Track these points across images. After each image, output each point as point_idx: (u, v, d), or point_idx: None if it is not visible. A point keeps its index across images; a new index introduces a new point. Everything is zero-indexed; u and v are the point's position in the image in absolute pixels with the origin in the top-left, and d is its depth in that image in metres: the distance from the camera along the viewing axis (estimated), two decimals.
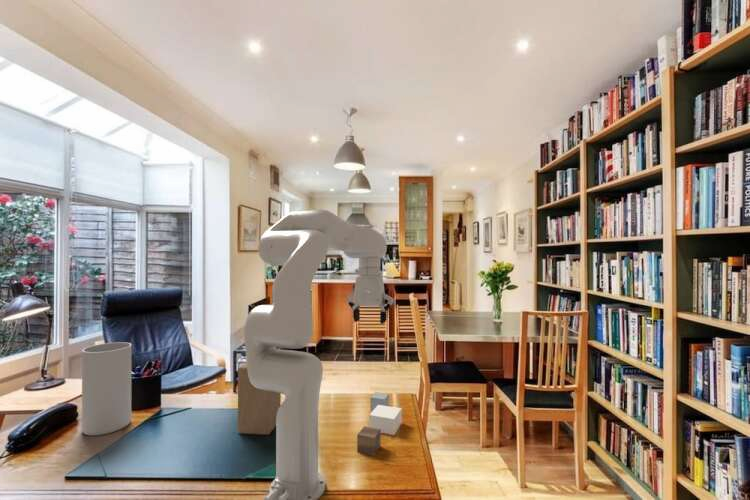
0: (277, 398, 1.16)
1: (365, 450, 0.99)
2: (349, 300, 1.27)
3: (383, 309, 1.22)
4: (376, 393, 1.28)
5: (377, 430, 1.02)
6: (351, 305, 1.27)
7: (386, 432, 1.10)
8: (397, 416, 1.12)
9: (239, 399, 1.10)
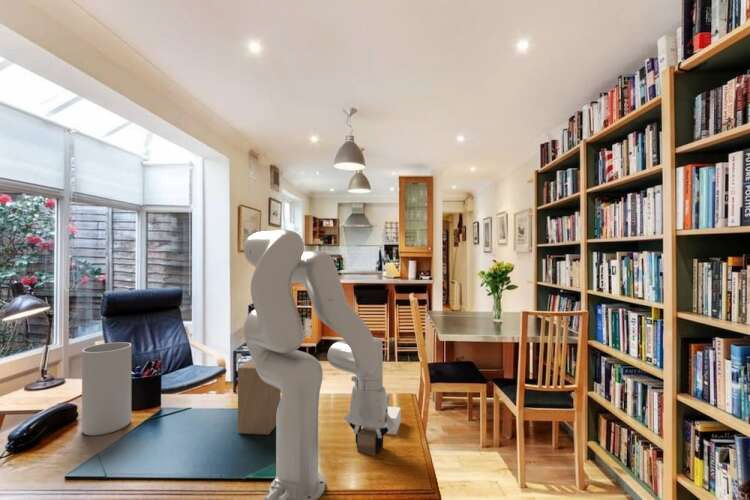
0: (277, 398, 1.16)
1: (365, 450, 0.99)
2: (349, 420, 1.03)
3: (379, 435, 0.99)
4: None
5: None
6: (353, 426, 1.02)
7: (388, 432, 1.10)
8: (397, 415, 1.12)
9: (239, 399, 1.10)
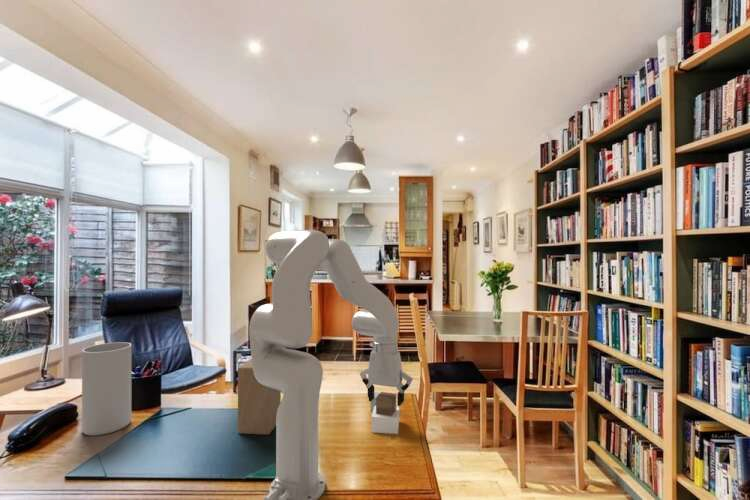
0: (277, 398, 1.15)
1: (383, 411, 1.12)
2: (363, 376, 1.16)
3: (401, 390, 1.11)
4: (376, 393, 1.28)
5: (393, 394, 1.15)
6: (365, 382, 1.16)
7: (389, 432, 1.10)
8: (398, 415, 1.13)
9: (239, 399, 1.10)
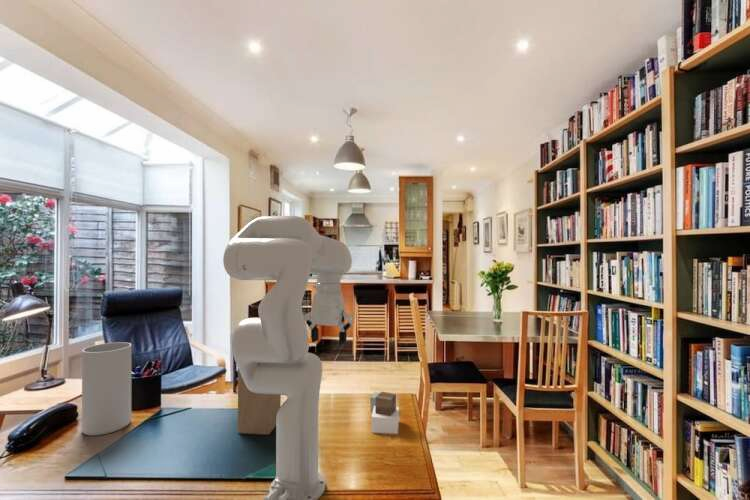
0: (277, 398, 1.16)
1: (382, 411, 1.12)
2: (307, 318, 1.17)
3: (342, 329, 1.12)
4: (376, 393, 1.28)
5: (393, 394, 1.15)
6: (309, 324, 1.16)
7: (389, 432, 1.10)
8: (398, 415, 1.13)
9: (239, 399, 1.10)
